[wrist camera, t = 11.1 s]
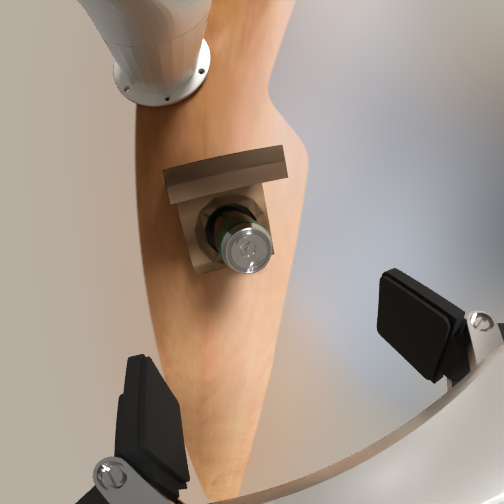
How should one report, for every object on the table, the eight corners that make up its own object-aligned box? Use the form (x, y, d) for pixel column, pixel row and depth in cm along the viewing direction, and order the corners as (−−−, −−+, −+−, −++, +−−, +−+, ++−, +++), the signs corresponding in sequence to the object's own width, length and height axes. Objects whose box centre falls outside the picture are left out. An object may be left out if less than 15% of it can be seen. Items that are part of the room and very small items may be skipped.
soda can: (222, 250, 36) (240, 287, 25) (201, 219, 34) (210, 244, 23) (253, 229, 37) (285, 258, 26) (234, 198, 35) (259, 212, 24)
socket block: (169, 169, 32) (162, 170, 21) (249, 151, 34) (282, 144, 23) (194, 267, 36) (201, 311, 25) (267, 247, 38) (302, 281, 27)
